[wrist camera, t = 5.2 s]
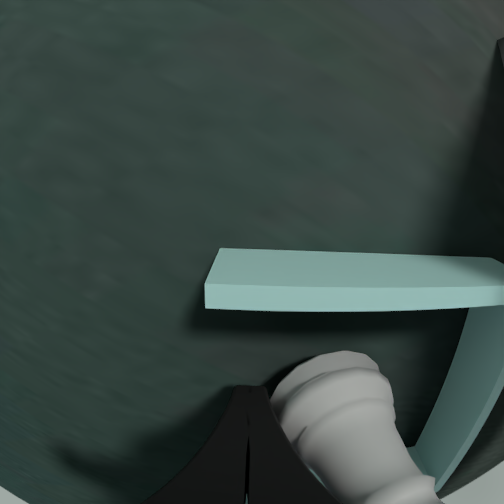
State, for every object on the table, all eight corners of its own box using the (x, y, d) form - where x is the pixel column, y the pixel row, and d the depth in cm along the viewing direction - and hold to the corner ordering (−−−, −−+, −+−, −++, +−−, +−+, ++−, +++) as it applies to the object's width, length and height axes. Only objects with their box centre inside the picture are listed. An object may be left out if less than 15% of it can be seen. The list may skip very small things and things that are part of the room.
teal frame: (224, 465, 13) (219, 515, 10) (219, 248, 10) (204, 283, 7) (420, 450, 13) (438, 490, 10) (491, 257, 10) (540, 284, 7)
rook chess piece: (374, 409, 12) (474, 546, 4) (275, 446, 11) (338, 614, 4) (374, 325, 10) (535, 483, 3) (251, 367, 10) (336, 606, 2)
